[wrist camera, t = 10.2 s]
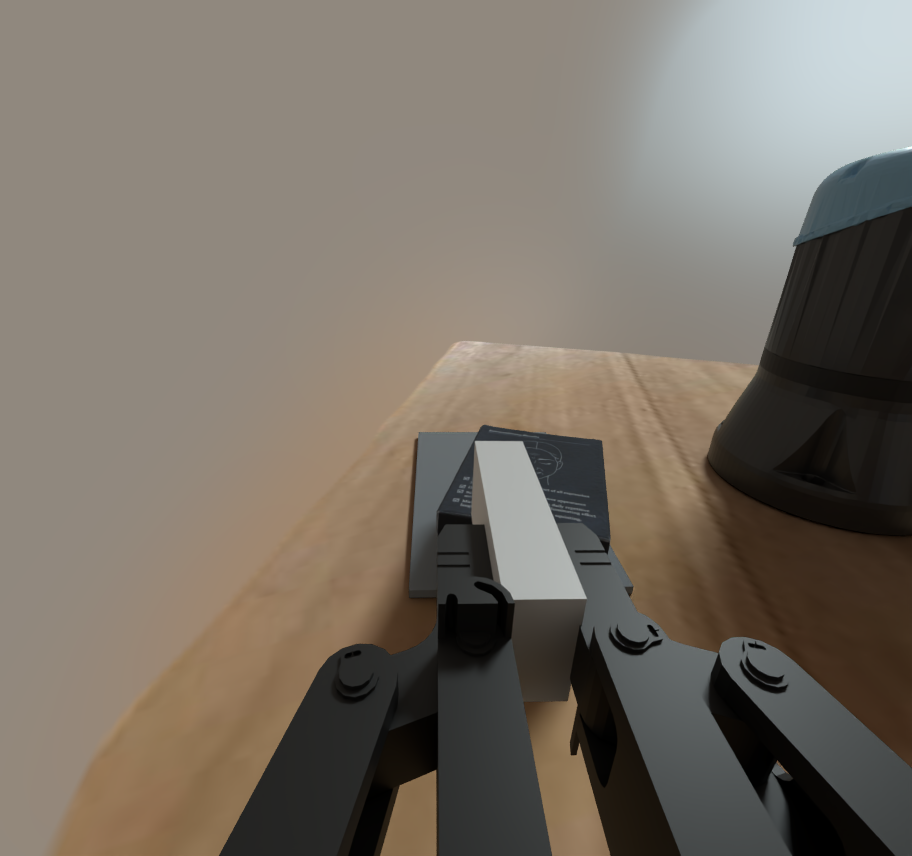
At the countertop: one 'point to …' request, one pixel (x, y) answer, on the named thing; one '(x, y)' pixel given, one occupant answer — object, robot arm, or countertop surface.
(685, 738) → the robot arm
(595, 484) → the box
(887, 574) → the countertop surface
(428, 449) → the rubber mat
